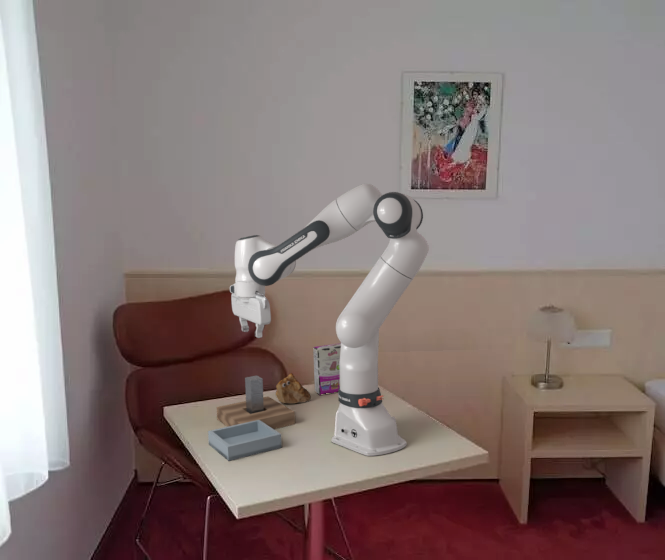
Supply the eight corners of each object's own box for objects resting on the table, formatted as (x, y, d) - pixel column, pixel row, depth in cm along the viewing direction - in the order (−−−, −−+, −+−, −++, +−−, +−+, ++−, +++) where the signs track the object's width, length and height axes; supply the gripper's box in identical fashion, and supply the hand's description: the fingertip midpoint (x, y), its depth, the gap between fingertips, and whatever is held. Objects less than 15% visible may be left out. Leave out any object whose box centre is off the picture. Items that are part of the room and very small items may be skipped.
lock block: (295, 424, 213) (294, 411, 212) (240, 436, 204) (240, 423, 203) (268, 408, 228) (268, 396, 228) (217, 419, 219) (216, 407, 218)
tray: (281, 447, 195) (281, 434, 194) (228, 461, 187) (227, 446, 186) (259, 432, 207) (259, 419, 206) (208, 444, 198) (208, 431, 198)
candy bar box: (342, 387, 249) (341, 342, 246) (348, 391, 244) (347, 345, 242) (313, 391, 244) (312, 346, 242) (319, 395, 240) (318, 349, 237)
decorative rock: (280, 408, 228) (278, 376, 226) (272, 403, 233) (271, 372, 231) (313, 402, 233) (312, 371, 231) (305, 397, 238) (304, 366, 237)
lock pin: (264, 422, 215) (262, 378, 213) (252, 425, 213) (250, 380, 211) (258, 418, 219) (256, 375, 216) (246, 421, 217) (245, 377, 214)
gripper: (275, 293, 202) (276, 339, 205) (245, 284, 220) (247, 326, 222) (255, 295, 199) (257, 342, 201) (227, 286, 216) (228, 329, 218)
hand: (251, 334), depth 212 cm, fingers open, 8 cm apart
